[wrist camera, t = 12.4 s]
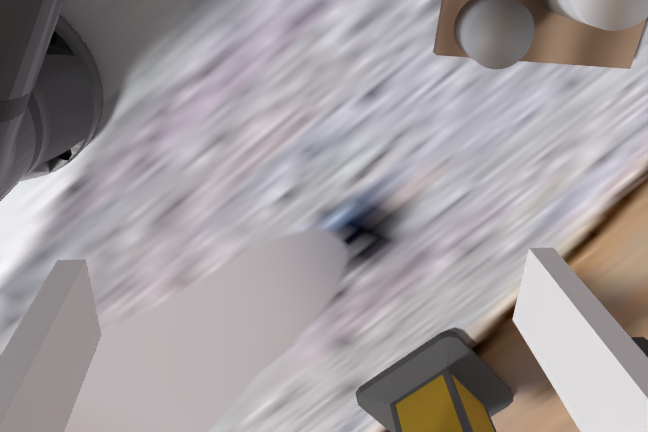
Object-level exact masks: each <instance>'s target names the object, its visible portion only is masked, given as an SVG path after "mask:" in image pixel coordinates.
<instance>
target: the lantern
mask: <svg viewBox="0 0 648 432" xmlns="http://www.w3.org/2000/svg"><path fill="white" fill-rule="evenodd" d="M356 397H357V401H358V405H359V406H360V407H362V408H363V409H364V410H365V411H366V412H368V413H369V414H370V415H371V416H372V417H373V418H375V419H376V420H377V421H378V422H379V423H381V424H382V425H383V426H384V427H385V428H387V429H388V430H389V431H390V432H496V430H495V427H494V425H493V423H492V420H491V418H490V417H491V416H493V415H495V414H496V413H498V412H500V411H501V410H503V409H504V408H506V407H508V406H509V405H510V404H511V403H512V402H513V394H512V392H511V390H510V388H509V387H508V386H507V385H506V384H505V383H504V382H503V381H502V380H501V379H500V378H499V377H498V376H497V375H496V374H495V373H494V372H493V371H492V370H491V369H490V368H489V367H488V366H487V365H486V364H485V363H484V361H483V360H482V359H481V358H480V357H479V356H478V355H477V354H476V353H475V352H474V351H473V350H472V349H471V348H470V347H469V346H468V345H467V344H466V343H465V342H464V341H463V340H462V339H461V338H460V337H459V336H458V335H457V334H456V333H454V332H450V331H446V332H442V333H440V334H438V335H437V336H435V337H434V338H432V339H431V340H429V341H428V342H426V343H425V344H423V345H422V346H420V347H419V348H417V349H416V350H414V351H413V352H411V353H410V354H408V355H407V356H405V357H404V358H402V359H401V360H399V361H398V362H396V363H395V364H393V365H392V366H390V367H389V368H387V369H386V370H384V371H383V372H381V373H380V374H378V375H377V376H375V377H374V378H372V379H371V380H369V381H368V382H366V383H365V384H364V385H362V386H361V387H359V389H358V390H357V391H356Z"/></svg>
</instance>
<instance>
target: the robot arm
mask: <svg viewBox="0 0 648 432" xmlns="http://www.w3.org/2000/svg"><path fill="white" fill-rule="evenodd" d="M63 3H64V0H0V201H1V200H2V199H3V198H4V197H5V196H6V195H7V194H8V193H9V192H10V191H11V190H12V189H13V188H14V187H15V186H16V185H17V184H18V182H19V181H24V180H28V179H32V178H37V177H40V176H44V175H47V174H50V173H52V172H54V171H56V170H58V169H60V168H62V167H63V166H65V165H66V164H68V163H69V162H70V161H72V160H73V159H74V158H75V157H76V156H77V155H78V154H79V153H80V152H81V151H82V149H83V148H84V147H85V146H86V145H87V144H88V142H89V141H90V140H91V138H92V137H93V135H94V133H95V131H96V129H97V127H98V124H99V121H100V117H101V112H102V104H103V95H102V85H101V80H100V76H99V73H98V70H97V67H96V64H95V62H94V60H93V57H92V55H91V54H90V52H89V50H88V48H87V47H86V45H85V43H84V42H83V41H82V39H81V38H80V36H79V35H78V34H77V33H76V32H75V30H74V29H73V28H72V27H71V26H70V25H69V24H68V23H67V22H66V21H65V20H64V19H63V18H62V17H60V16H59V14H60V12H61V9H62V6H63ZM512 320H513V321H514V323H515V325H516V326H517V328H518V330H519V331H520V333H521V335H522V336H523V338H524V339H525V341H526V343H527V344H528V346H529V348H530V349H531V351H532V353H533V354H534V356H535V358H536V359H537V361H538V362H539V364H540V366H541V367H542V369H543V371H544V372H545V374H546V376H547V377H548V379H549V381H550V382H551V384H552V386H553V387H554V389H555V390H556V392H557V394H558V395H559V397H560V399H561V400H562V402H563V404H564V405H565V407H566V409H567V410H568V412H569V413H570V415H571V417H572V418H573V420H574V422H575V423H576V425H577V427H578V428H579V430H580V432H648V340H647V339H645V338H644V337H632V338H631V337H630V336H629V335H628V334H627V333H626V332H625V331H624V329H623V328H622V327H621V326H620V325H619V324H618V322H617V321H616V320H615V319H614V318H613V317H612V315H611V314H610V313H609V312H608V311H607V310H606V308H605V307H604V306H603V305H602V304H601V303H600V301H599V300H598V299H597V298H596V297H595V296H594V295H593V293H592V292H591V291H590V290H589V289H588V288H587V286H586V285H585V284H584V283H583V282H582V281H581V279H580V278H579V277H578V276H577V275H576V274H575V272H574V271H573V270H572V269H571V268H570V267H569V265H568V264H567V263H566V262H565V261H564V260H563V258H562V257H561V256H560V255H559V254H558V253H557V252H556V250H555V249H554V248H529V252H528V256H527V260H526V265H525V269H524V273H523V277H522V281H521V286H520V290H519V294H518V298H517V303H516V307H515V311H514V315H513V319H512ZM100 337H101V332H100V327H99V322H98V317H97V313H96V308H95V303H94V298H93V293H92V288H91V283H90V278H89V274H88V269H87V264H86V260H58V261H57V262H56V264H55V266H54V267H53V269H52V271H51V272H50V274H49V276H48V277H47V279H46V281H45V282H44V284H43V286H42V287H41V289H40V291H39V292H38V294H37V296H36V297H35V299H34V301H33V303H32V304H31V306H30V308H29V309H28V311H27V313H26V314H25V316H24V318H23V319H22V321H21V323H20V324H19V326H18V328H17V329H16V331H15V333H14V334H13V336H12V338H11V339H10V341H9V343H8V344H7V346H6V348H5V349H4V351H3V353H2V355H1V356H0V432H64V430H65V427H66V425H67V422H68V420H69V417H70V414H71V412H72V409H73V406H74V404H75V402H76V399H77V396H78V394H79V391H80V388H81V386H82V383H83V381H84V378H85V376H86V373H87V370H88V368H89V365H90V363H91V360H92V358H93V355H94V353H95V350H96V347H97V345H98V342H99V340H100Z"/></svg>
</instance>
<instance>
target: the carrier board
mask: <svg viewBox="0 0 648 432" xmlns="http://www.w3.org/2000/svg"><path fill="white" fill-rule="evenodd" d="M647 17H648V0H442V3H441V9H440V15H439V21H438V27H437V33H436V39H435V45H434V51H433V52H434V53H435V54H436V55H444V56H458V57H471V58H472V59H474V60H475V61H476V62H478V63H479V64H481V65H482V66H484V67H486V68H490V69H503V68H506V67H509V66H511V65H513V64H515V63H516V62H518V61H529V62H543V63H557V64H571V65H585V66H599V67H613V68H627V69H630V68H631V65H632V62H633V59H634V56H635V53H636V50H637V47H638V44H639V41H640V38H641V34H642V31H643V28H644V25H645V22H646V19H647Z"/></svg>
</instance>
